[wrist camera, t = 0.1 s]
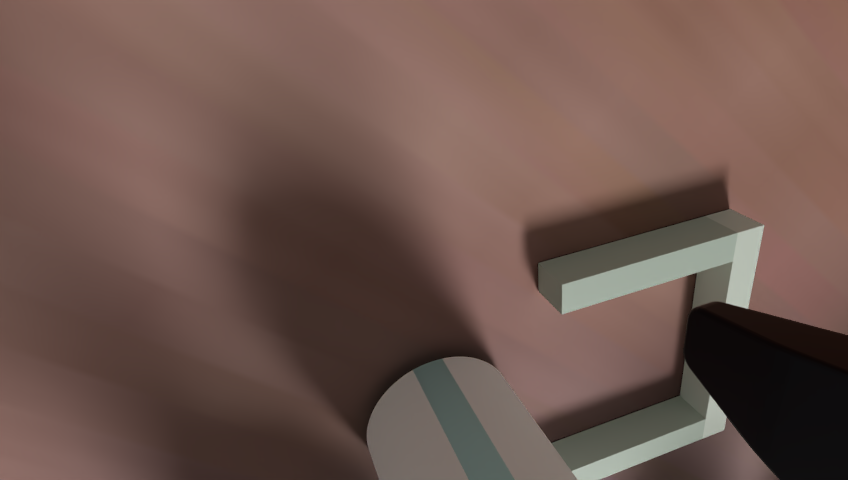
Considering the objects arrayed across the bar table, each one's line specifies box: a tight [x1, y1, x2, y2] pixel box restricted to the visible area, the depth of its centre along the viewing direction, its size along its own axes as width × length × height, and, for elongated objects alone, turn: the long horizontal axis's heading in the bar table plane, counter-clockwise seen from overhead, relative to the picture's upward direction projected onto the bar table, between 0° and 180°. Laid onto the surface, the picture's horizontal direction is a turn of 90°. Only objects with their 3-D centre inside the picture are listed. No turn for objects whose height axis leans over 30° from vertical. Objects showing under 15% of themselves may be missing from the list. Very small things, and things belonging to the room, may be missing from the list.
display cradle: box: [538, 209, 764, 480], centre depth 29 cm, size 13×10×2 cm
